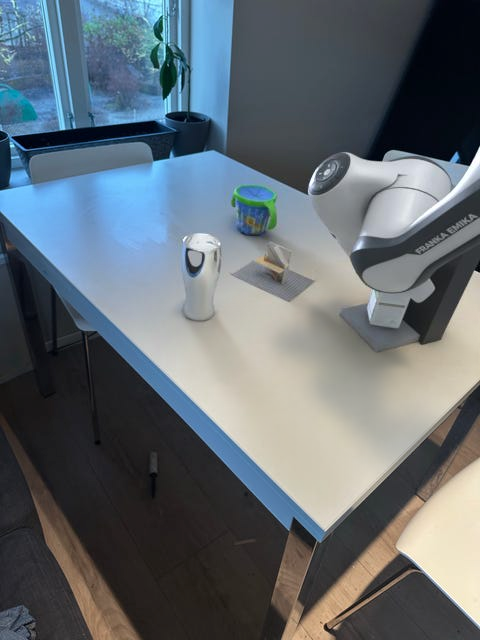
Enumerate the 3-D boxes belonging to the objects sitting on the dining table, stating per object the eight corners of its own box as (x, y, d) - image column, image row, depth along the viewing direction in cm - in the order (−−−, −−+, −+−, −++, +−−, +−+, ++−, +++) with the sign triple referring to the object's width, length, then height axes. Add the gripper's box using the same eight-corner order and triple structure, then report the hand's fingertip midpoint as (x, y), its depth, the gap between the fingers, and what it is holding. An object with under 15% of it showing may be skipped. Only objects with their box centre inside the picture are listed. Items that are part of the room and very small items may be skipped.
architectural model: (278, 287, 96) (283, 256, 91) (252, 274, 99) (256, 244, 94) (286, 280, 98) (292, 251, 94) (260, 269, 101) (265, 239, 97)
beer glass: (194, 327, 82) (198, 255, 73) (173, 308, 86) (174, 238, 77) (224, 314, 86) (231, 245, 77) (202, 297, 90) (206, 229, 81)
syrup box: (399, 329, 84) (427, 262, 75) (368, 324, 84) (391, 257, 75) (394, 311, 88) (419, 246, 80) (364, 307, 89) (386, 241, 80)
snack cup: (284, 239, 114) (291, 201, 108) (250, 246, 109) (255, 207, 103) (251, 214, 124) (256, 178, 118) (218, 220, 119) (221, 183, 113)
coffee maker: (380, 355, 81) (434, 217, 65) (336, 311, 91) (374, 181, 74) (440, 339, 87) (504, 208, 70) (394, 299, 96) (440, 176, 80)
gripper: (430, 255, 64) (453, 300, 74) (348, 198, 78) (376, 242, 88) (396, 285, 65) (423, 326, 75) (321, 224, 79) (352, 265, 89)
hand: (397, 280), depth 81 cm, fingers closed on syrup box, 7 cm apart
